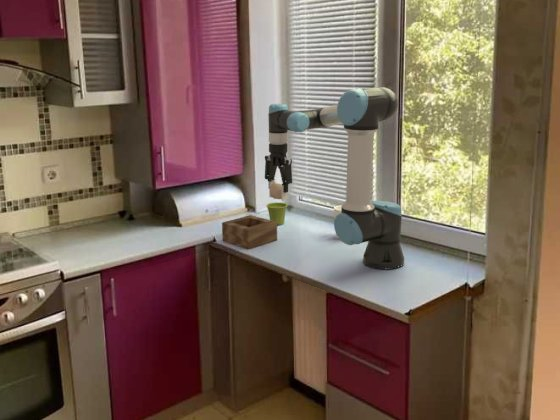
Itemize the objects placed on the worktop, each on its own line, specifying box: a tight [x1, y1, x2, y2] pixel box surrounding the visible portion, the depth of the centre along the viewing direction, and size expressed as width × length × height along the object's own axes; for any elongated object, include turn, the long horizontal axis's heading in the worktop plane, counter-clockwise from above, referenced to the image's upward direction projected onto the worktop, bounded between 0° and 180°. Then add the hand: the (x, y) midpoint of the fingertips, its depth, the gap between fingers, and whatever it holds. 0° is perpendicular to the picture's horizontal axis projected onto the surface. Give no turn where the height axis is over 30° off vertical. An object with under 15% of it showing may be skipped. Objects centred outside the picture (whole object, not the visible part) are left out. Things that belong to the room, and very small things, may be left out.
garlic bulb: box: [270, 180, 282, 200], centre depth 264 cm, size 7×6×8 cm
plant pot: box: [266, 202, 288, 226], centre depth 291 cm, size 9×9×9 cm
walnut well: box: [221, 214, 278, 250], centre depth 267 cm, size 16×16×8 cm
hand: (278, 198), depth 265 cm, fingers closed on garlic bulb, 6 cm apart
